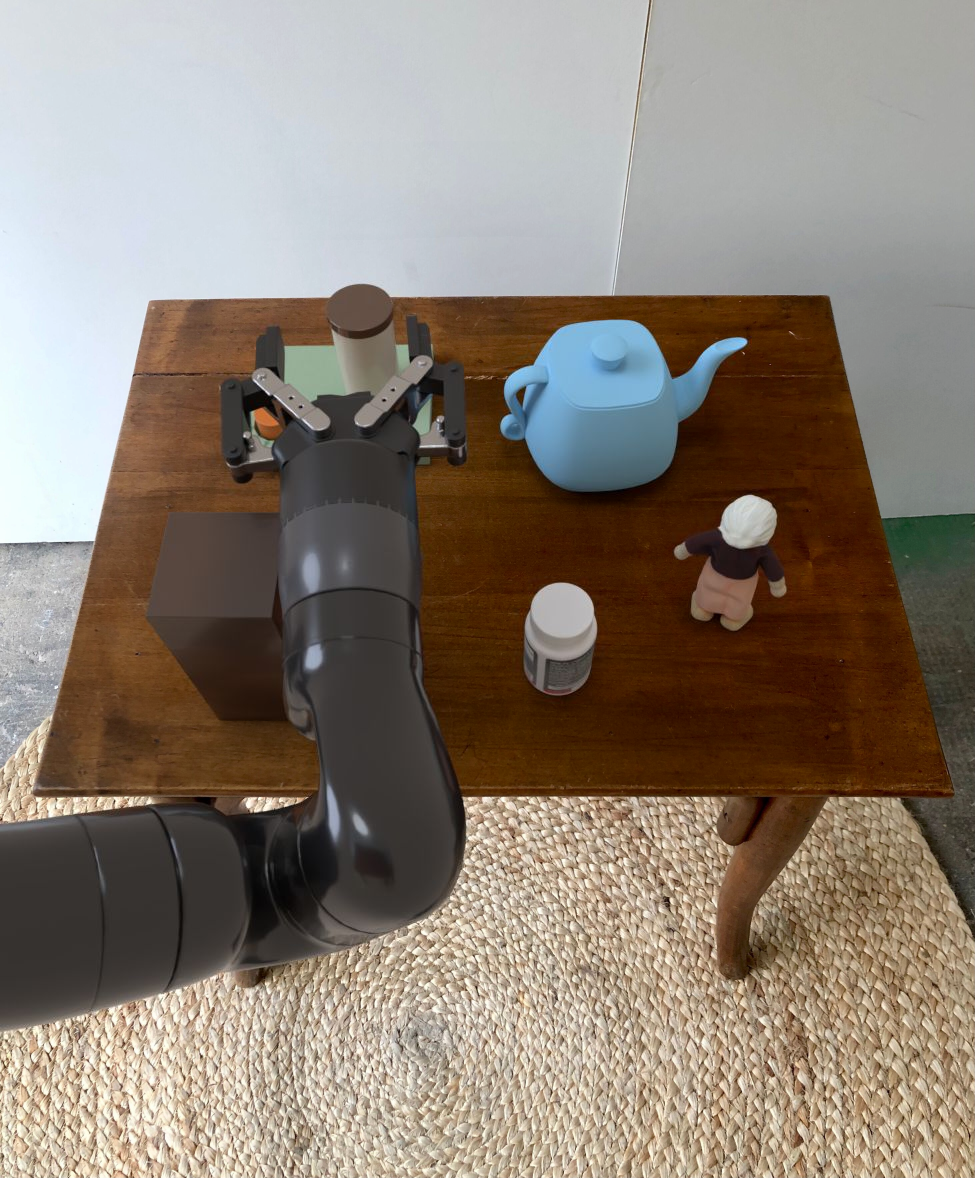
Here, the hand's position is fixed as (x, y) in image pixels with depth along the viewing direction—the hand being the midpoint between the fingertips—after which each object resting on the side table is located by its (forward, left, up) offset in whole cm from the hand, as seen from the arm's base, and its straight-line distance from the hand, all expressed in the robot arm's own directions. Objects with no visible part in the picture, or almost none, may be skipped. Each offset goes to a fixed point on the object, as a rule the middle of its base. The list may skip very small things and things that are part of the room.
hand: (344, 330), depth 57 cm
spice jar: (-7, +7, -16) cm, 19 cm away
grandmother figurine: (+26, +8, -18) cm, 32 cm away
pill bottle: (+20, -3, -18) cm, 27 cm away
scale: (-8, +5, -17) cm, 20 cm away
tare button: (-9, -1, -15) cm, 17 cm away
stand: (+5, -16, -17) cm, 24 cm away
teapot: (+11, +16, -18) cm, 26 cm away
